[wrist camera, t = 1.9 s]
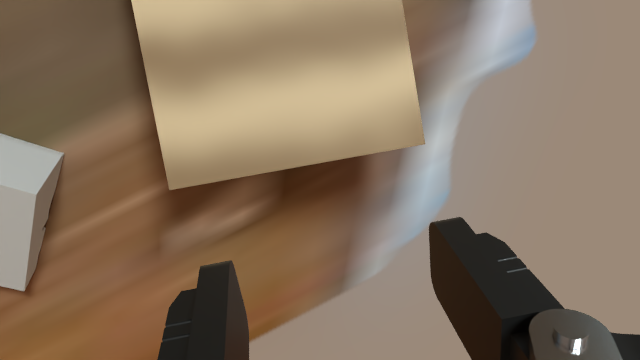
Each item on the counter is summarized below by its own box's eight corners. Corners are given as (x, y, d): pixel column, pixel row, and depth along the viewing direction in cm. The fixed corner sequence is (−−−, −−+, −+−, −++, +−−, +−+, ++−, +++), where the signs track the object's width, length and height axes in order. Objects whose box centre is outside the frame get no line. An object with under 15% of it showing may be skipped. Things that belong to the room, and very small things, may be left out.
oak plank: (133, -55, 27) (115, -80, 24) (372, -89, 28) (382, -118, 25) (181, 186, 28) (169, 190, 25) (410, 144, 29) (425, 144, 26)
